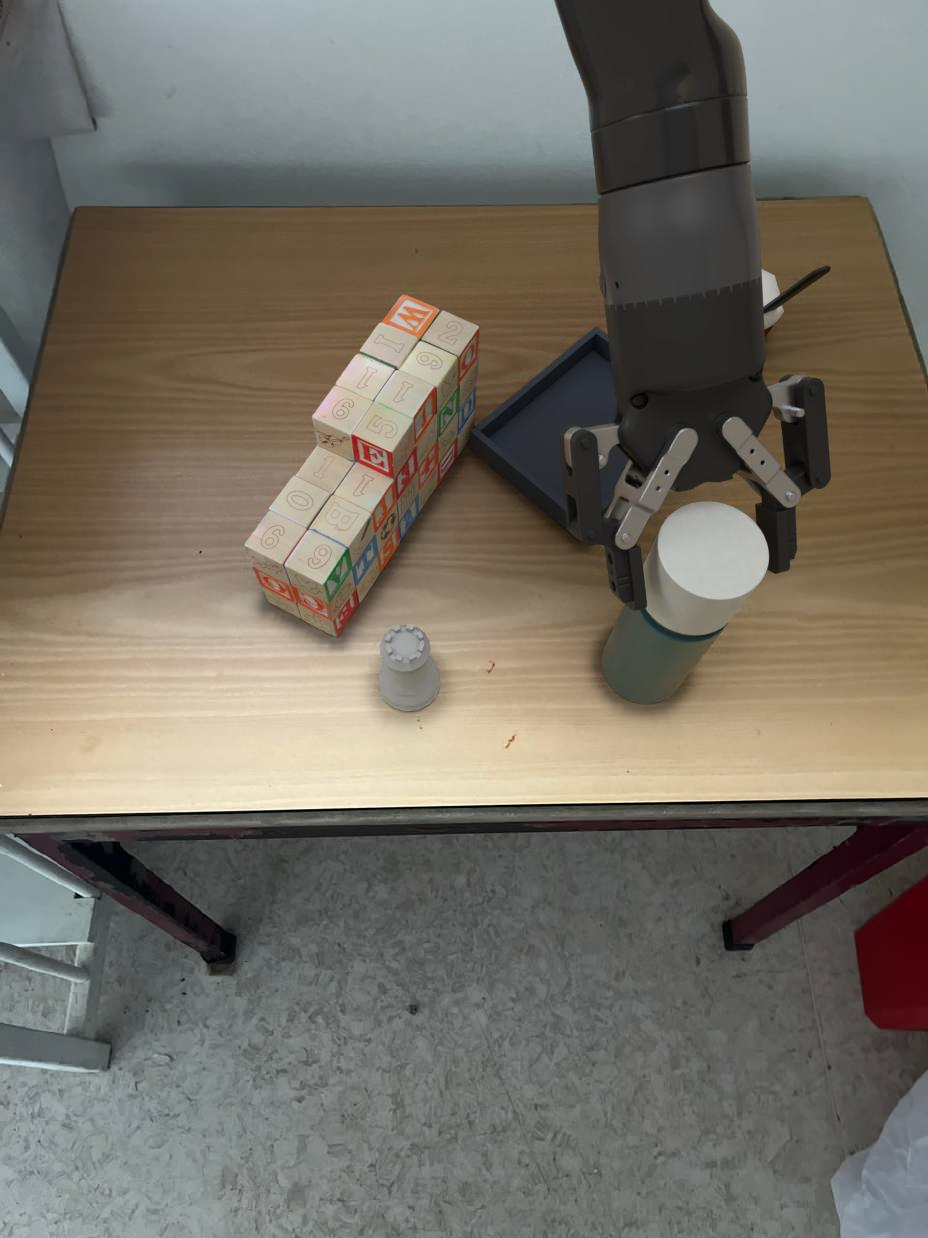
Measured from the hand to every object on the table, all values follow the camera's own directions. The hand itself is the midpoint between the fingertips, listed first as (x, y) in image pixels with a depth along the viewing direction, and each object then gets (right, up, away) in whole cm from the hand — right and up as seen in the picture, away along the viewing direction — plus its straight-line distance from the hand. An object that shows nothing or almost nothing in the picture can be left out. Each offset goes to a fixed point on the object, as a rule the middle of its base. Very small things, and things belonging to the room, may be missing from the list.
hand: (705, 586), depth 48 cm
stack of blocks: (-20, +6, +19) cm, 29 cm away
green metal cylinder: (-1, -5, +14) cm, 15 cm away
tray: (-4, +13, +22) cm, 26 cm away
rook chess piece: (-18, -7, +13) cm, 23 cm away
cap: (0, 0, +2) cm, 2 cm away
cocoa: (+10, +23, +27) cm, 36 cm away
